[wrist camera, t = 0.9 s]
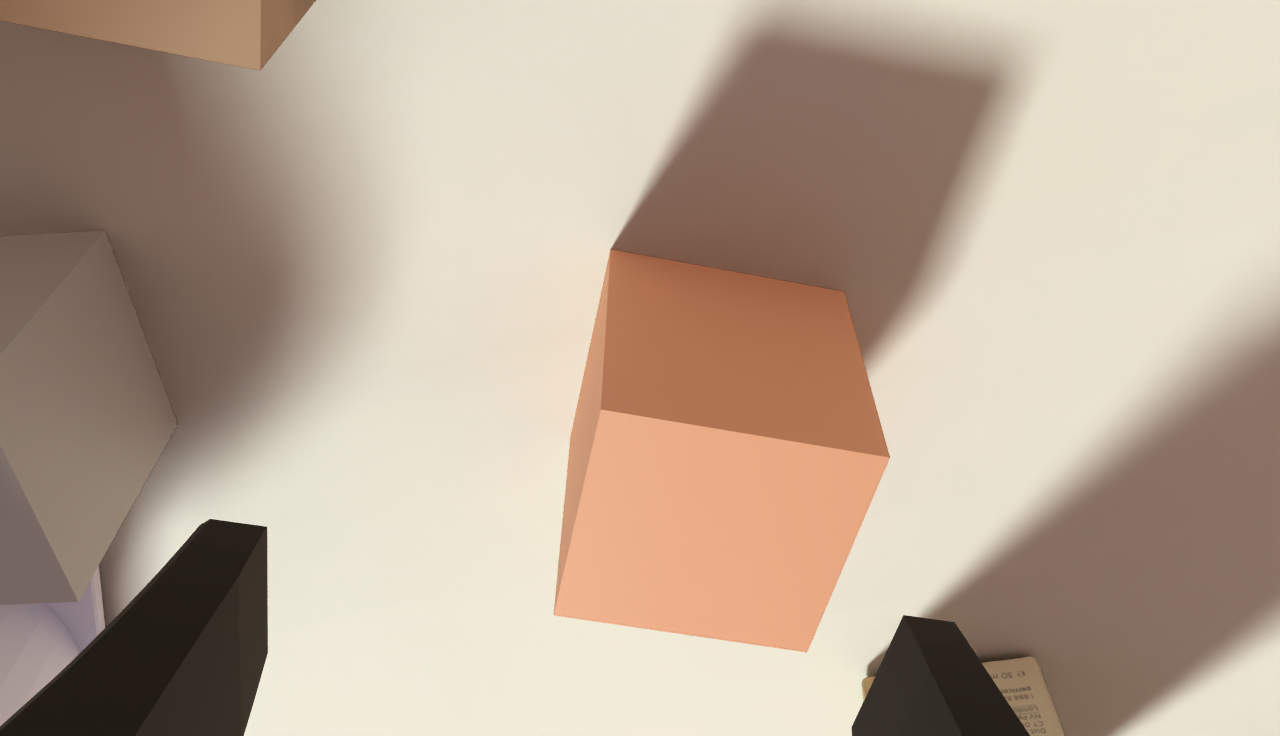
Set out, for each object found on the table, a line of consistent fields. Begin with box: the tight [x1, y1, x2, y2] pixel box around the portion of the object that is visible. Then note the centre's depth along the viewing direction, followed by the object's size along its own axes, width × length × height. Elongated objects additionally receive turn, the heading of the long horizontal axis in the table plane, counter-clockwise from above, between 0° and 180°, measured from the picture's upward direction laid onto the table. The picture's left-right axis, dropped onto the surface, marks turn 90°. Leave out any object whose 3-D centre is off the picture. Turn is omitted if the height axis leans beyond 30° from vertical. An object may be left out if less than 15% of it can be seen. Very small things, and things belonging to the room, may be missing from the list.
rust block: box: [554, 249, 890, 652], centre depth 20 cm, size 4×4×5 cm
